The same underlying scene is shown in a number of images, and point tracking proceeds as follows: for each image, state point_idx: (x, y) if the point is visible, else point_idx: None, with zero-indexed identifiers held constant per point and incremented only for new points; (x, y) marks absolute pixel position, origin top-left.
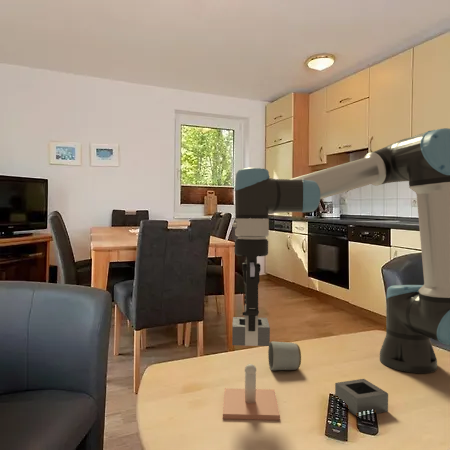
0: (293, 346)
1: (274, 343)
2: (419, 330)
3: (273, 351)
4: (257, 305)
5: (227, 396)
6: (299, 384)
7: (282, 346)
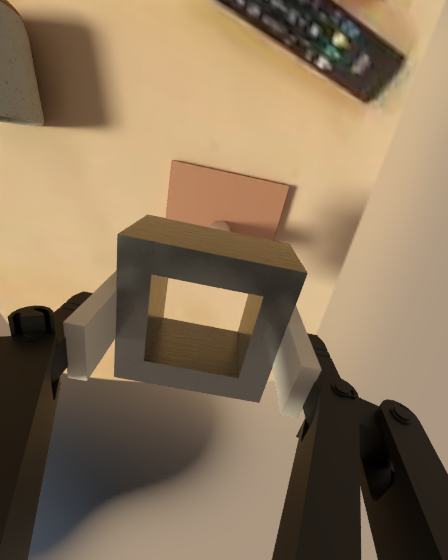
0: None
1: None
2: None
3: (4, 115)
4: (437, 464)
5: None
6: (122, 63)
7: None
